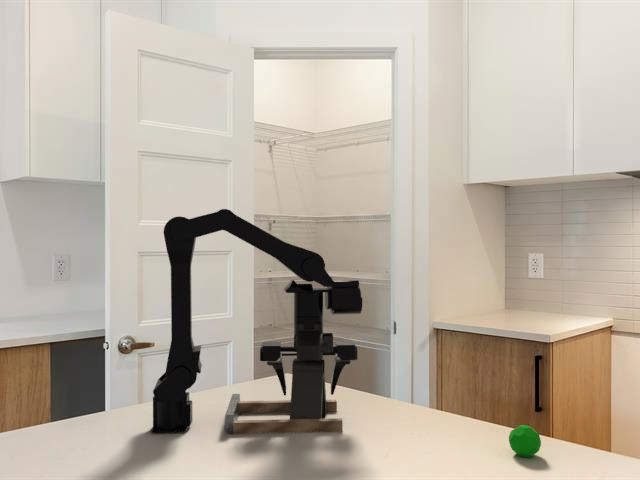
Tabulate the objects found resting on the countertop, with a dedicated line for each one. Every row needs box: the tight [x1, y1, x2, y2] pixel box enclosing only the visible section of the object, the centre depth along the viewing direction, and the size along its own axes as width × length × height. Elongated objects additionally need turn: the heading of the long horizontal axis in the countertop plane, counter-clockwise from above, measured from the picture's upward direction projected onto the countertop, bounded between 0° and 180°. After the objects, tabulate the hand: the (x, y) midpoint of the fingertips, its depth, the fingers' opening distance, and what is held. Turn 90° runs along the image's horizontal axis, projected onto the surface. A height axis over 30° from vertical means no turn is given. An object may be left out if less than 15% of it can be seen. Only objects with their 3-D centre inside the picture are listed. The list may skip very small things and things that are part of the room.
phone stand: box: [289, 358, 328, 419], centre depth 114 cm, size 9×6×12 cm, turn 171°
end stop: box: [224, 393, 241, 435], centre depth 113 cm, size 2×14×4 cm, turn 3°
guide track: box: [227, 399, 343, 435], centre depth 114 cm, size 21×14×2 cm, turn 93°
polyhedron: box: [508, 424, 542, 458], centre depth 96 cm, size 5×5×5 cm
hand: (308, 394), depth 114 cm, fingers open, 9 cm apart
